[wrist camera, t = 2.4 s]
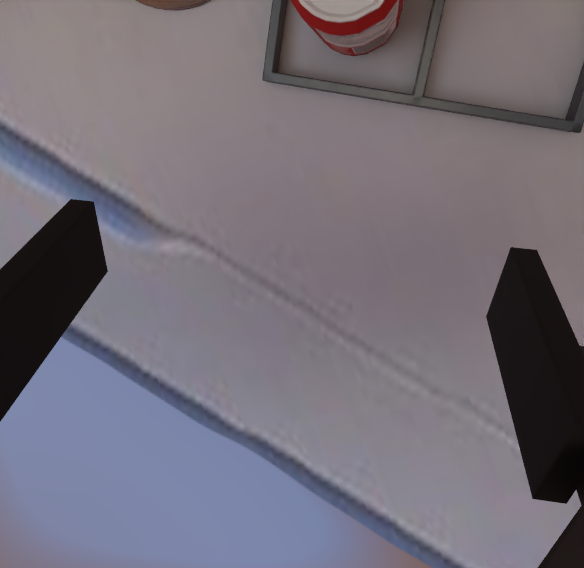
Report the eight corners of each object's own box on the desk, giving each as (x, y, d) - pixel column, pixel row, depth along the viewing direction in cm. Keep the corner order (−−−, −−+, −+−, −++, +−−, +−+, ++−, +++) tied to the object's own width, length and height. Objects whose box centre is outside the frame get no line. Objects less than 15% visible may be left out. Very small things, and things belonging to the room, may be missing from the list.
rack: (267, 81, 35) (262, 80, 34) (290, -97, 32) (286, -107, 30) (571, 132, 33) (580, 133, 32) (631, -54, 30) (644, -62, 28)
